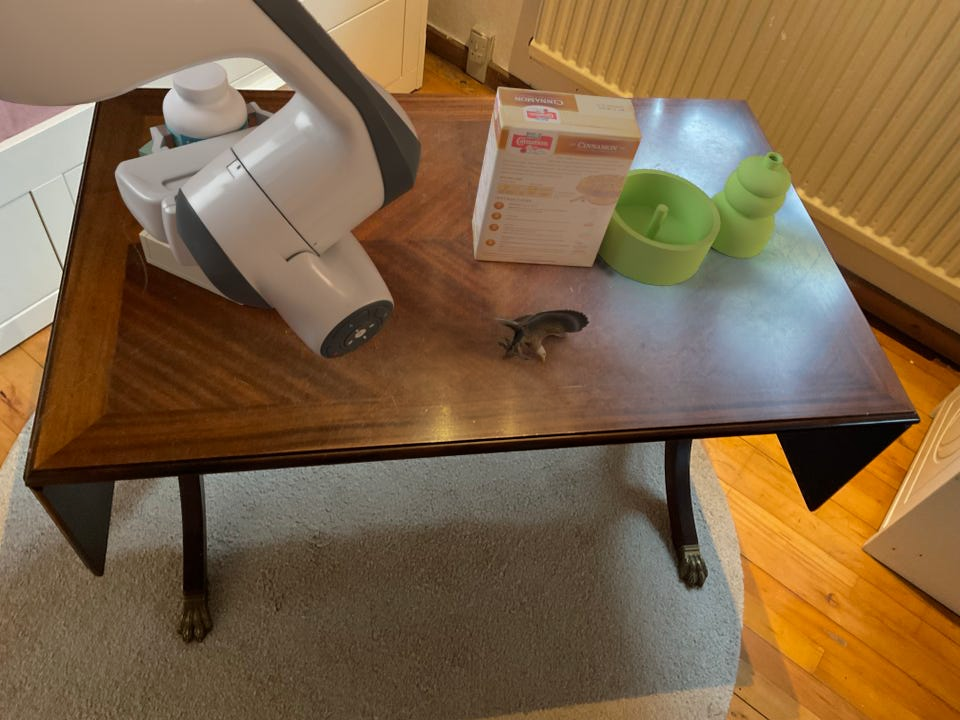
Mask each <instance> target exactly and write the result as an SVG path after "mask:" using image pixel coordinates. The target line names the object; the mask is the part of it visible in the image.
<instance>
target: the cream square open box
mask: <svg viewBox="0 0 960 720" xmlns="http://www.w3.org/2000/svg"><path fill="white" fill-rule="evenodd" d="M138 236H139V240H140V242H141V243H140V244H141V246H142V250H143V253H144V257H145V260H146V263H148V264H150V265H152V266H154V267H157V268H159V269H161V270H163V271H165V272H168V273H170V274H172V275H174V276H176V277H179V278H181V279H183V280H185V281H188V282H189V283H192V284H194V285H197V286H198V287H201V288H203V289H205V290H207V291H209V292H212V293H214V294H216V295H218V296H221V297H223V298H225V299H227V300H229V301H232V302H234V303H236V304H238V305H239V306H243V305H244V304H240V303H237V302H235V301H233V300H231V299H229V298H228V297H226V296H225V295H223V294H222V293H221V292H220V291H219V290H218V289H217V288H216V287H215V286H214V285H213V284H212V283H211V282H210V281H209V279H208V278H207V277H206V275H205V274H204V273H203V271H202V270H201V268H200V267H199V265H198V266H182V265H180V264H179V263H178V262H177V261H176V259H175V257H174V255H173V253H172V251H171V248H170V246H169V244H166V243H163V242H160V241H158V240H156V239H155V238H153V237H152V236H151V235H150V234H149V233H148V232H147V231H146V230H145V229H144V228H143V229H142V231H141V232H140V233H138Z"/></svg>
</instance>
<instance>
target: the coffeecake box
mask: <svg viewBox="0 0 960 720" xmlns="http://www.w3.org/2000/svg"><path fill="white" fill-rule="evenodd" d="M635 112H636V110H635V108H634V105H633V101H632V99H631V98H622V97H614V96H613V97H610V96H602V95H601V96H600V95H589V94H580V93H570V92H569V93H568V92H558V91H546V90H538V89H526V88H515V87H506V86H498V87H497V90H496V93H495V98H494V104H493V109H492V114H491V119H490V124H489V130H488V135H487V140H486V145H485V151H484V156H483V159H482V160H483V162H482V167H481V171H480V172H481V173H480V176H479V182H478V187H477V193H476V198H475V204H474V208H473V215H472V220H471V227H472V240H473V241H472V242H473V243H472V244H473V257H474V261H489V262H503V263H504V262H505V263H521V264H537V265H553V266H567V267H585V268H592V267H593V265H594V262H595V260H596V257H597V256H598V254H599V253H598V250H599V247H600V245H601V242H602V240H603V237H604V234H605V232H606V229H607V226H608V224H609V221H610V219H611V216H612V214H613V211H614V209H615V206H616V204H617V201H618V198H619V196H620V193H621V191H622V188H623V185H624V183H625V180H626V177H627V175H628V172H629V171H630V170H631V167H632V164H633V162H634V159H635V156H636V154H637V152H638V149H639V146H640V144H641V141H642V139H643V136H642V133H641V129H640V126H639V123H638V121H637V118H636V114H635Z"/></svg>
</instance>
